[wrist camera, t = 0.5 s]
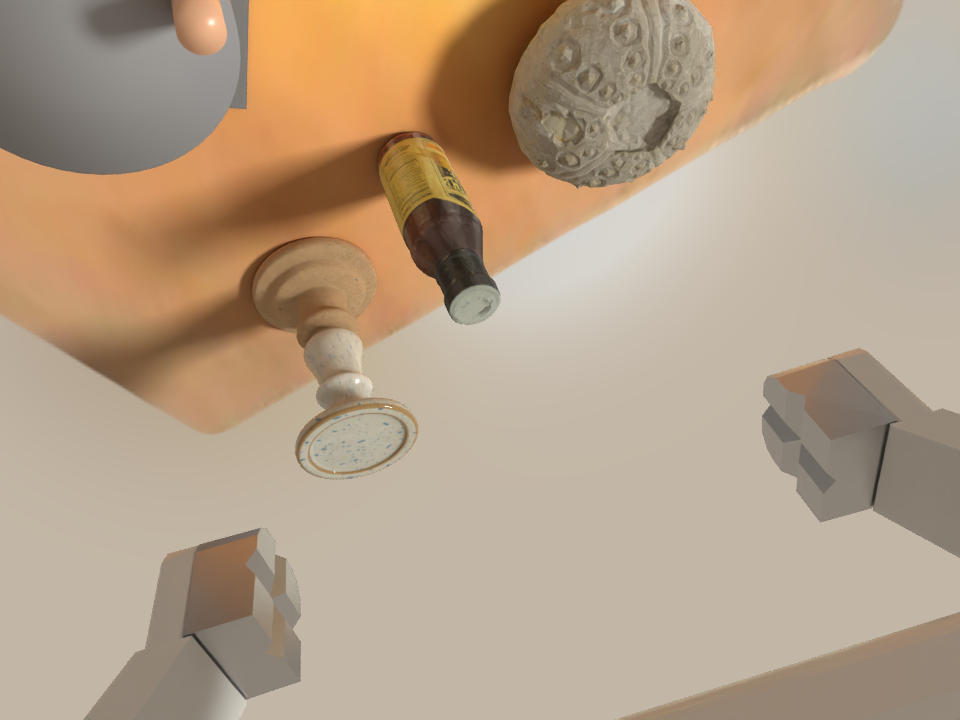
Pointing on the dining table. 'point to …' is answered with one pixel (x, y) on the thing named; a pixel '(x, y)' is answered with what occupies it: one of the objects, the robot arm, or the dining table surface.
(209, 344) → the dining table surface
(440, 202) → the sauce bottle
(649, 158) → the decorative shell
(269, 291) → the candle holder
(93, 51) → the lid
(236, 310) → the dining table surface
